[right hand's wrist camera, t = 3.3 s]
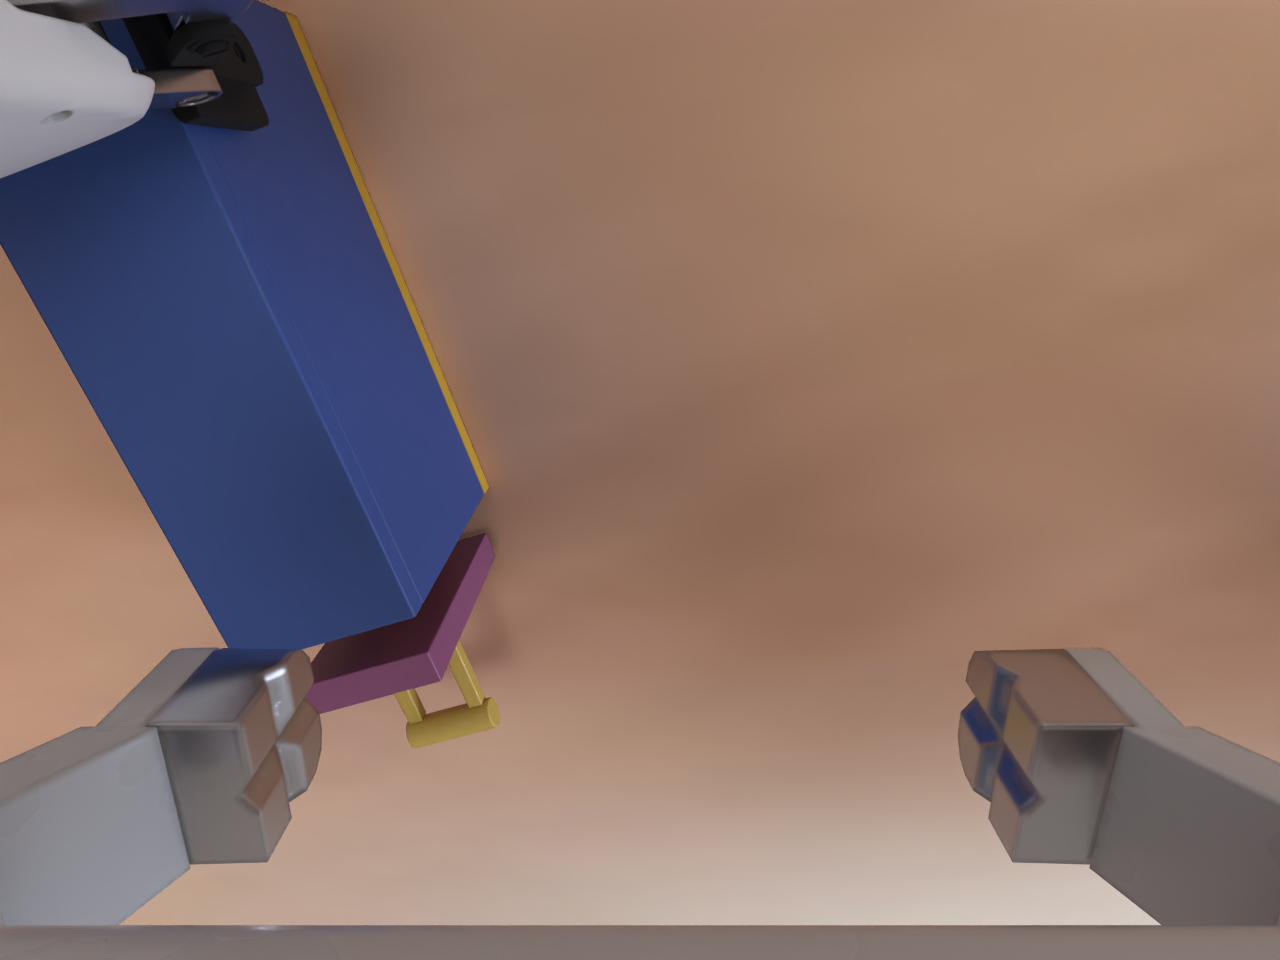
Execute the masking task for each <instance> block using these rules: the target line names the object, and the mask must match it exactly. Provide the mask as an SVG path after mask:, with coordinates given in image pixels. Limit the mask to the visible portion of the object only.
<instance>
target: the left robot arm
mask: <svg viewBox="0 0 1280 960" xmlns="http://www.w3.org/2000/svg"><path fill="white" fill-rule="evenodd" d="M253 1H254V0H0V179H1V178H3V177H6V176H8V175H11V174H13V173H16V172H19V171H21V170H24V169H26V168H29V167H31V166H34V165H37V164H39V163H42V162H44V161H47V160H49V159H52V158H54V157H57V156H59V155H62V154H64V153H67V152H69V151H72V150H75V149H77V148H80V147H82V146H85V145H87V144H90V143H92V142H94V141H97V140H99V139H102V138H104V137H106V136H109V135H111V134H113V133H116V132H118V131H120V130H122V129H124V128H126V127H128V126H130V125H132V124H134V123H135V122H137V121H139V120H140V119H141V118H143V117H144V115H145V113H146V112H147V110H156V109H170V108H171V110H172V112H173V114H174V115H175V116H176V118H177V119H178V120H180V121H181V122H183V124H189V125H198V126H207V127H216V128H224V129H233V130H242V131H254V130H257V129H260V128H262V127H265V126H268V124H269V119H268V115H267V113H266V110H265V108H264V106H263V104H262V101H261V99H260V97H259V94H258V92H257V90H256V88H255V87H257V86H259V85H262V84H263V82H264V77H263V73H262V69H261V67H260V64H259V62H258V59H257V57H256V55H255V52H254V50H253V48H252V46H251V44H250V42H249V40H248V39H247V37H246V35H245V34H244V33H243V31H242V30H241V29H240V28H239V27H238V26H237V25H236V24H235V23H233V22H232V21H231V20H232V19H233V18H234V17H241V16H243V15H244V13H245V12H246V10H247V9H248V8H249V6H250V5H251V4H252V2H253ZM120 18H122V19H123V21H124V23H125V26H126V28H127V30H128V32H129V34H130V36H131V38H132V40H133V42H134V45H135V47H136V49H137V51H138V53H139V55H140V57H141V59H142V61H143V64H144V66H145V68H146V69H141V70H137V69H136V68H135V69H131V67H130V64H129V62H128V59H127V57H126V56H125V55H124V54H122V53H121V52H120V51H118V50H117V49H116V48H115V47H113V46H112V45H111V43H110V41H109V39H108V37H107V35H106V33H105V31H104V29H103V27H102V24H101V22H100V21H103V20H112V19H120Z"/></svg>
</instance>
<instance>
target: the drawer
mask: <svg viewBox="0 0 1280 960" xmlns="http://www.w3.org/2000/svg"><path fill="white" fill-rule="evenodd" d="M494 558H495V553H494V551H493V548H492V546H491V544H490V541H489V539H488V536H487V534H486V533H483V534H480V535H477V536H473V537H470V538H466V539H463V540H460V541H457V543H456V545H455V547H454V548H453V550H452V552H451V554H450V556H449V557H448V559H447V561H446V563H445V565H444V566H443V568H442V570H441V572H440V574H439V575H438V577H437V579H436V581H435V583H434V584H433V586H432V588H431V590H430V592H429V593H428V595H427V597H426V599H425V601H424V602H423V603H422V606H421V608H420V610H419V611H418V613H417V615H416V616H415V617H414V618H411V619H407V620H404V621H400V622H397V623H393V624H390V625H386V626H383V627H379V628H376V629H372V630H368V631H365V632H361V633H358V634H354V635H351V636H347V637H344V638H340V639H337V640H333V641H330V642H326V643H325V644H324V646H323V647H322V648H321V650H320V651H319V653H318V654H317V655H316V657H315V658H314V660H313V661H312V662H311V667H312V672H313V677H314V682H313V684H312V685H311V687H310V689H309V690H308V692H307V693H306V695H305V698H306V699H307V700H308V701H309V702H310V703H311V704H312V705H313V706H314V707H315V708H316V709H317V710H318V711H319V713H320V714H321V713H325V712H329V711H332V710H336V709H340V708H343V707H347V706H351V705H355V704H358V703H362V702H366V701H369V700H373V699H377V698H380V697H384V696H388V695H391V694H395V696H396V698H397V700H398V702H399V704H400V706H401V708H402V710H403V712H404V714H405V716H406V718H407V720H408V722H407V726H406V734H407V738H408V741H409V743H410V745H411V746H412V747H413V748H420V747H423V746H427V745H431V744H435V743H439V742H443V741H446V740H450V739H454V738H458V737H462V736H466V735H469V734H473V733H477V732H481V731H485V730H489V729H492V728H496V727H497V726H498V725H499V722H500V715H499V709H498V706H497V703H496V701H495V700H494V699H493V698H491V697H489V698H485V696H484V694H483V691H482V689H481V687H480V685H479V682H478V680H477V678H476V676H475V674H474V671H473V669H472V667H471V665H470V663H469V660H468V658H467V656H466V654H465V652H464V649H463V647H462V645H461V643H460V641H459V639H460V636H461V634H462V632H463V629H464V627H465V625H466V623H467V620H468V618H469V616H470V613H471V611H472V609H473V606H474V604H475V602H476V599H477V597H478V595H479V593H480V590H481V588H482V586H483V583H484V581H485V579H486V576H487V574H488V572H489V569H490V567H491V565H492V563H493V560H494ZM448 664H449V666H450V668H451V670H452V672H453V674H454V677H455V679H456V681H457V683H458V685H459V687H460V689H461V692H462V694H463V696H464V698H465V700H466V702H467V703H466V704H462V705H459V706H455V707H451V708H447V709H444V710H440V711H436V712H432V713H429V714H426V711H425V709H424V707H423V705H422V703H421V701H420V699H419V697H418V695H417V693H416V690H415V688H417V687H421V686H425V685H428V684H432V683H436V682H439V681H441V680H442V678H443V676H444V673H445V671H446V669H447V666H448ZM484 698H485V699H484Z"/></svg>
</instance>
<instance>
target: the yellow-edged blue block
mask: <svg viewBox="0 0 1280 960" xmlns="http://www.w3.org/2000/svg"><path fill="white" fill-rule="evenodd" d="M231 21H232V22H233V23H235V24H236V25H237V26H238V27H239V28H240V29H241V30H242V31H243V33H244V34H245V35H246V37H247V39H248V40H249V42H250V44H251V46H252V48H253V50H254V52H255V55H256V57H257V59H258V62H259V64H260V67H261V69H262V73H263V77H264V82H263V84H262V85H259V86H257V87H255V88H256V90H257V92H258V94H259V97H260V99H261V101H262V104H263V106H264V108H265V110H266V113H267V115H268V119H269V124H268V126H265V127H262V128H260V129H257V130H254V131H242V130H233V129H224V128H216V127H207V126H198V125H189V124H183V122H181V121H180V120H178V119H177V118H176V116H175V115H174V114H173V112H172V110H171V108H170V109H156V110H147V112H146V113H145V115H144V117H143V118H141V119H140V120H139V121H137V122H135V123H134V124H132V125H130V126H128V127H126V128H124V129H122V130H120V131H118V132H116V133H113V134H111V135H109V136H106V137H104V138H102V139H99V140H97V141H94V142H92V143H90V144H87V145H85V146H82V147H80V148H77V149H75V150H72V151H69V152H67V153H64V154H62V155H59V156H57V157H54V158H52V159H49V160H47V161H44V162H42V163H39V164H37V165H34V166H31V167H29V168H26V169H24V170H21V171H19V172H16V173H13V174H11V175H8V176H6V177H3V178H1V179H0V244H1V246H2V248H3V250H4V251H5V253H6V255H7V257H8V258H9V260H10V262H11V264H12V265H13V267H14V269H15V271H16V273H17V274H18V276H19V278H20V280H21V281H22V283H23V285H24V287H25V288H26V290H27V292H28V294H29V296H30V297H31V299H32V301H33V303H34V304H35V306H36V308H37V310H38V312H39V313H40V315H41V317H42V319H43V320H44V322H45V324H46V326H47V327H48V329H49V331H50V333H51V335H52V336H53V338H54V340H55V342H56V343H57V345H58V347H59V349H60V350H61V352H62V354H63V356H64V358H65V359H66V361H67V363H68V365H69V366H70V368H71V370H72V372H73V373H74V375H75V377H76V379H77V381H78V382H79V384H80V386H81V388H82V389H83V391H84V393H85V395H86V396H87V398H88V400H89V402H90V404H91V405H92V407H93V409H94V411H95V412H96V414H97V416H98V418H99V420H100V421H101V423H102V425H103V427H104V428H105V430H106V432H107V434H108V435H109V437H110V439H111V441H112V443H113V444H114V446H115V448H116V450H117V451H118V453H119V455H120V457H121V458H122V460H123V462H124V464H125V466H126V467H127V469H128V471H129V473H130V474H131V476H132V478H133V480H134V481H135V483H136V485H137V487H138V489H139V490H140V492H141V494H142V496H143V497H144V499H145V501H146V503H147V505H148V506H149V508H150V510H151V512H152V513H153V515H154V517H155V519H156V520H157V522H158V524H159V526H160V528H161V529H162V531H163V533H164V535H165V536H166V538H167V540H168V542H169V543H170V545H171V547H172V549H173V551H174V552H175V554H176V556H177V558H178V559H179V561H180V563H181V565H182V566H183V568H184V570H185V572H186V574H187V575H188V577H189V579H190V581H191V582H192V584H193V586H194V588H195V589H196V591H197V593H198V595H199V597H200V598H201V600H202V602H203V604H204V605H205V607H206V609H207V611H208V613H209V614H210V616H211V618H212V620H213V621H214V623H215V625H216V627H217V628H218V630H219V632H220V634H221V636H222V637H223V639H224V641H225V643H226V644H227V646H228V648H239V649H289V650H301V649H305V648H308V647H312V646H315V645H319V644H323V643H326V642H330V641H333V640H337V639H340V638H344V637H347V636H351V635H354V634H358V633H361V632H365V631H368V630H372V629H376V628H379V627H383V626H386V625H390V624H393V623H397V622H400V621H404V620H407V619H411V618H414V617H415V616H416V615H417V613H418V611H419V610H420V608H421V606H422V603H423V602H424V601H425V599H426V597H427V595H428V593H429V592H430V590H431V588H432V586H433V584H434V583H435V581H436V579H437V577H438V575H439V574H440V572H441V570H442V568H443V566H444V565H445V563H446V561H447V559H448V557H449V556H450V554H451V552H452V550H453V548H454V547H455V545H456V543H457V541H458V539H459V538H460V536H461V534H462V532H463V530H464V529H465V527H466V525H467V523H468V521H469V520H470V518H471V516H472V514H473V512H474V511H475V509H476V507H477V505H478V503H479V502H480V500H481V498H482V496H483V494H485V493H486V491H487V489H488V488H489V485H488V483H487V481H486V478H485V476H484V473H483V471H482V468H481V466H480V464H479V461H478V459H477V456H476V454H475V451H474V449H473V447H472V444H471V442H470V439H469V437H468V434H467V432H466V429H465V427H464V425H463V422H462V420H461V417H460V415H459V412H458V410H457V408H456V405H455V403H454V400H453V398H452V395H451V393H450V390H449V388H448V386H447V383H446V381H445V378H444V376H443V373H442V371H441V369H440V366H439V364H438V361H437V359H436V356H435V354H434V351H433V349H432V347H431V344H430V342H429V339H428V337H427V334H426V332H425V330H424V327H423V325H422V322H421V320H420V317H419V315H418V312H417V310H416V308H415V305H414V303H413V300H412V298H411V295H410V293H409V291H408V288H407V286H406V283H405V281H404V278H403V276H402V273H401V271H400V269H399V266H398V264H397V261H396V259H395V256H394V254H393V252H392V249H391V247H390V244H389V242H388V239H387V237H386V234H385V232H384V230H383V227H382V225H381V222H380V220H379V217H378V215H377V213H376V210H375V208H374V205H373V203H372V200H371V198H370V195H369V193H368V191H367V188H366V186H365V183H364V181H363V178H362V176H361V174H360V171H359V169H358V166H357V164H356V161H355V159H354V156H353V154H352V152H351V149H350V147H349V144H348V142H347V139H346V137H345V135H344V132H343V130H342V127H341V125H340V122H339V120H338V117H337V115H336V113H335V110H334V108H333V105H332V103H331V100H330V98H329V96H328V93H327V91H326V88H325V86H324V83H323V81H322V78H321V76H320V74H319V71H318V69H317V66H316V64H315V61H314V59H313V57H312V54H311V52H310V49H309V47H308V44H307V42H306V39H305V37H304V35H303V32H302V30H301V27H300V25H299V22H298V20H297V18H296V16H295V15H292V14H290V13H288V12H286V11H285V12H282V11H280V10H278V9H275V8H273V7H271V6H269V5H266V4H264V3H262V2H259V1H257V0H254V1H253V2H252V4H251V5H250V6H249V8H248V9H247V10H246V12H245V13H244V15H243V16H241V17H234V18H233V19H232V20H231ZM100 22H101V24H102V27H103V29H104V31H105V33H106V35H107V37H108V39H109V41H110V43H111V45H112V46H113V47H115V48H116V49H117V50H118V51H120V52H121V53H122V54H124V55H125V56H126V57H127V59H128V62H129V64H130V67H131V69H135V68H136V69H137V70H141V69H146V68H145V66H144V64H143V61H142V59H141V57H140V55H139V53H138V51H137V49H136V47H135V45H134V42H133V40H132V38H131V36H130V34H129V32H128V30H127V28H126V26H125V23H124V21H123V19H122V18H120V19H112V20H103V21H100Z"/></svg>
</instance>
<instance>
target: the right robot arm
mask: <svg viewBox="0 0 1280 960" xmlns="http://www.w3.org/2000/svg"><path fill="white" fill-rule="evenodd" d="M313 682H314V677H313V672H312V667H311V662H310V657H309V656H308V655H307V654H306V653H305V652H304V651H303V650H289V649H239V648H223V649H219V648H182V649H177V650H172V651H171V652H170V653H169V654H168V655H167V656H166V657H165V658H164V659H163V660H162V661H161V662H160V663H159V664H158V665H157V666H156V667H155V668H154V669H153V670H152V671H151V672H150V673H149V674H148V675H147V676H146V677H145V678H144V679H143V680H142V681H141V682H140V683H139V684H138V685H137V686H136V687H135V688H134V689H133V690H132V691H131V692H130V693H129V694H128V695H127V696H126V697H125V698H124V699H123V700H122V701H121V702H120V703H119V704H118V705H117V706H116V707H115V708H114V709H112V710H111V711H110V712H109V713H108V714H107V715H106V716H105V717H104V718H103V719H102V720H101V721H100V722H99V723H98V724H97V725H96V726H95V727H80V728H78V729H75V730H73V731H71V732H69V733H66V734H64V735H62V736H60V737H58V738H55V739H53V740H51V741H49V742H46V743H44V744H42V745H40V746H37V747H35V748H33V749H31V750H29V751H26V752H24V753H22V754H20V755H17V756H15V757H13V758H11V759H8V760H6V761H4V762H2V763H0V960H1280V763H1278V762H1276V761H1274V760H1271V759H1269V758H1267V757H1265V756H1262V755H1260V754H1258V753H1256V752H1254V751H1251V750H1249V749H1247V748H1245V747H1242V746H1240V745H1238V744H1236V743H1233V742H1231V741H1229V740H1227V739H1225V738H1222V737H1220V736H1218V735H1216V734H1213V733H1211V732H1209V731H1207V730H1205V729H1202V728H1200V727H1185V726H1184V725H1183V724H1182V723H1181V722H1180V721H1179V720H1178V719H1177V718H1176V717H1175V716H1174V715H1173V714H1172V713H1171V712H1170V711H1169V710H1168V709H1167V708H1166V707H1165V706H1164V705H1163V704H1162V703H1161V702H1160V701H1159V700H1158V699H1157V698H1156V697H1155V696H1154V695H1153V694H1152V693H1151V692H1150V691H1149V690H1148V689H1147V688H1146V687H1145V686H1144V685H1143V684H1142V683H1141V682H1140V681H1139V680H1138V679H1136V678H1135V677H1134V676H1133V675H1132V674H1131V673H1130V672H1129V671H1128V670H1127V669H1126V668H1125V667H1124V666H1123V665H1122V664H1121V663H1120V662H1119V661H1118V660H1117V659H1116V658H1115V657H1114V656H1113V655H1112V654H1111V653H1110V652H1109V651H1107V650H1104V649H1102V648H1099V647H1092V648H1067V649H1035V650H995V651H974V653H973V655H972V657H971V659H970V661H969V665H968V670H967V676H966V682H967V684H968V685H969V687H970V689H971V690H972V692H973V693H974V695H975V698H974V699H973V700H972V701H971V702H970V703H969V704H968V705H967V706H966V707H965V708H964V709H963V710H962V711H961V714H960V722H959V730H958V743H959V753H960V760H961V763H962V766H963V770H964V773H965V776H966V778H967V779H968V781H969V783H970V785H971V787H972V789H973V791H975V792H976V793H978V794H979V795H981V796H982V797H984V798H985V799H987V800H988V801H990V802H991V805H990V811H989V817H988V819H989V820H990V822H991V824H992V826H993V828H994V829H995V831H996V833H997V835H998V837H999V838H1000V840H1001V842H1002V844H1003V846H1004V847H1005V849H1006V851H1007V853H1008V855H1009V856H1010V858H1011V860H1012V862H1021V863H1057V864H1090V869H1092V870H1093V871H1094V872H1095V873H1097V874H1098V875H1099V876H1100V877H1102V878H1103V879H1104V880H1105V881H1107V882H1108V883H1109V884H1110V885H1112V886H1113V887H1114V888H1116V889H1117V890H1118V891H1119V892H1121V893H1122V894H1123V895H1124V896H1126V897H1127V898H1128V899H1129V900H1131V901H1132V902H1133V903H1135V904H1136V905H1137V906H1138V907H1140V908H1141V909H1142V910H1143V911H1145V912H1146V913H1147V914H1148V915H1150V916H1151V917H1152V918H1153V919H1155V920H1156V921H1157V922H1159V923H1160V924H1161V925H119V924H120V923H122V922H123V921H124V920H125V919H127V918H128V917H129V916H131V915H132V914H133V913H134V912H136V911H137V910H138V909H139V908H141V907H142V906H143V905H145V904H146V903H147V902H148V901H150V900H151V899H152V898H153V897H155V896H156V895H157V894H158V893H160V892H161V891H162V890H164V889H165V888H166V887H167V886H169V885H170V884H171V883H172V882H174V881H175V880H176V879H177V878H179V877H180V876H181V875H183V874H184V873H185V872H186V871H188V870H189V869H190V864H222V863H257V862H268V860H269V858H270V857H271V855H272V853H273V851H274V849H275V848H276V846H277V844H278V842H279V840H280V838H281V837H282V835H283V833H284V831H285V829H286V828H287V826H288V824H289V822H290V820H291V819H292V817H291V811H290V805H289V802H290V801H292V800H293V799H295V798H296V797H298V796H299V795H301V794H302V793H304V792H305V791H307V789H308V787H309V785H310V783H311V781H312V779H313V777H314V775H315V773H316V770H317V766H318V762H319V757H320V753H321V747H322V727H321V720H320V713H319V711H318V710H317V709H316V708H315V707H314V706H313V705H312V704H311V703H310V702H309V701H308V700H307V699H306V698H305V695H306V693H307V692H308V690H309V689H310V687H311V685H312V684H313Z"/></svg>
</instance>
